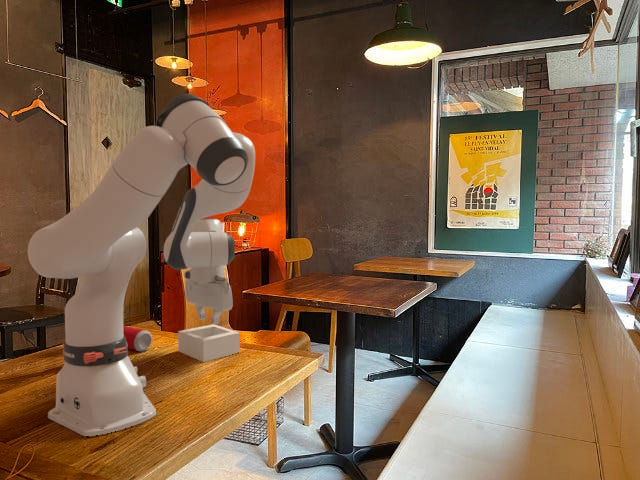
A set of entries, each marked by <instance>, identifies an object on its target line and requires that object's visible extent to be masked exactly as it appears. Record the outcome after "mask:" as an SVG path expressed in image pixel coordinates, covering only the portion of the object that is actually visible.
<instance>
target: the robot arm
mask: <svg viewBox="0 0 640 480" xmlns="http://www.w3.org/2000/svg"><path fill="white" fill-rule="evenodd" d="M187 165H190V166H191V168H193V169H194V171H195V172H197V175H198V176H199V177H200V178H201V180H200V181H199V182H198V183H197V184H196V185H194V187H192V188H190V189H188V190H187V191H186V193H185V194H184V197H183V199H182V201H181V204H180V206H179V209H178V211H177V213H176V217H175V219H174V222H173V225H172V226H171V227H172V228H171V230H170V232H169V233H168V235H167V236H166V239H165V242H164V244H163V257H164V261H165V264H167V265H168V266H169V267H170V268H172V269H174V270H176V271H180V270H186V271H184V272H183V277H184V279H185V281H184V293H185V299H186V301H187V302H188V303H191V304H195V309H196V311H197V314H198V318H197V319H198V320H201V321H205V320H206V319H207V313H206V312H205V308H208V309H212V313H213V316H212V317H211V318H210V319H211V324H215V325H219V324H220V318H221V315H222V313H223V312H226V311H231V310H232V308H233V306H234V305H233V303H234V302H233V293H232V287H231V285H230V282H229V281H228V280H227V277H224V272H225V271H224V266H228V265H229V264H230V263H231V262H232V261H233V260H234V259H235V257H236V253H235V251H236V249H235V248H236V247H235V246H236V245H235V239H234V237H232V235H230V234H229V233H228V232H225V231H224V230H223V227H222V222H221V220H219V219H217V218H208V217H211V216H217V215H221V214H226V213H229V212H233V211H234V210H237V209H239V208H240V207H241V206H242V205H243V204H244V203H245V202H246V200H247V198H248V197H249V194H250V191H251V188H252V184H253V179H254V175H255V167H256V148H255V145H254V144H253V141H252V140H251V139H250V138H249V137H247V136H246V135H244V134H242V133H239V132H235V131H234V132H233V131H232V130H231V129H230V127H229V126H228V125H227V123H226V121H225V120H224V119H223V118H222V117H221V115H219V114H218V113H217V111H215V110H214V109H213V108H211V107H210V105H209V104H208V102H206V101H205V100H204V99H202V98H201V97H199V96H197V95H195V94H192V93H182V94H180V95H177V96H175V97H174V98H172V99H171V100H170V101H168V102H167V104H166V105H165V106H163V108H162V110H161V111H160V113H159V114H158V116H157V117H156V121H155V125H148V126H144V128H143V127H142V128H141V129H140V130H139V131H138V132H137V133H136V134H135V135H134V136H133V137H132V138H131V139H130V140H129V141H128V142H127V143H126V145H125V146H124V147H123V148H122V150H121V151H120V152H119V154H118V155H117V156H116V158H115V160H114V161H112V164H111V166H110V167H109V168H108V170H107V172H106V173H105V175H104V176H103V178H102V179H101V180H100V182H99V183H98V185H97V186H96V188H95V189H94V190H93V191H92V193H91V194H90V195H88V197H86V198H85V199H84V200H83V201H82V202H81V203H79V204H78V205H77V206H76V207H75V208H73V209H72V210H71V211H69V212H68V213H67V214H66V215H65V216H63V217H62V218H59V219H58V220H56V221H55V222H53V223H51V224H48V225H47V226H45V227H42V228H40V229H38V230H37V231H35V232H34V233H33V235H32V237H30V240H29V241H28V245H27V246H28V247H27V258H28V261H29V263H30V265H31V268H32V269H33V270H34V271H35V272H36V273H37V274H38V275H40V276H41V277H44V278H48V279H49V278H50V279H51V278H52V279H62V280H68V279H69V280H71V279H72V280H73V279H77V278H82V277H83V279H82V282H81V284H80V286H79V289H78V290H77V292H76V293H75V294H74V295H72V297H70V298H69V299H68V300H67V303H66V305H65V307H64V311H65V319H64V324H65V325H64V326H65V328H64V330H65V342H64V343H63V349H62V353H63V360H64V362H65V363H64V364H63V366H62V368H61V369H60V370H59V371H58V373H57V374H56V380H55V381H56V383H55V384H56V385H55V386H56V387H55V407H53V408H52V409H50V410H49V411H48V413H47V418H48V419H49V420H51V421H52V422H55V423H57V424H58V425H61V426H63V427H65V428H67V429H69V430H70V431H73V432H74V433H77V434H79V435H81V436H83V437H86V436H89V437H97V436H96V435H98V436H103V435H106V434H107V433H108V434H111V432H112V433H115V431H116V432H119V431H123V430H125V428H126V429H128V428H131V426H132V427H134V426H137V425H140V424H142V423H144V422H146V421H149V420H150V419H151V418H152V419H153V417H155V416H156V415H157V409H156V408H155V406H154V404H152V402H151V401H150V400H149V398H148V397H147V395H146V394H145V392H144V388H145V387H146V386H147V378H146V376H145V375H141V376H139V375H138V366H134V365H133V363H132V362H131V359H130V357H129V356H128V355H129V349H128V348H127V347H128V345H127V342H126V337H125V336H124V334H123V326H124V305H125V304H124V303H125V296H126V292H127V289H128V285H129V283H130V280H131V277H132V275H133V273H134V270H135V269H136V268H137V266H138V265H139V264H140V263H141V262H142V260H143V259H144V258H145V256H146V252H147V248H148V247H147V240H146V236H145V234H144V232H143V231H142V230H141V229H140V228H139V227H140V226H141V225H143V224H144V223H145V222H146V221H148V218H149V217H150V216H151V214H152V213H153V211H154V210H155V209H156V207H157V206H158V204H159V203H160V201H161V200H162V198H163V197H164V196H165V194H166V193H167V191H168V190H169V188H170V186H171V185H172V184H173V182H174V180H175V178H176V176H177V175H178V172H179V171H181V169H182V168H184V167H185V166H187ZM187 269H188V270H187ZM102 434H103V435H102ZM108 434H107V435H108Z"/></svg>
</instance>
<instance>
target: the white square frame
mask: <svg viewBox="0 0 640 480" xmlns="http://www.w3.org/2000/svg"><path fill="white" fill-rule="evenodd" d="M177 332H178V333H177V337H178V338H177V339H178V341H177V342H178V343H177V344H178V347H177V348H178V352H179V353H182V354H184V355H186V356H188V357H191V358H193V359H196V360H197V361H199V362H202V363H207V362H211V361H215V360H218V359H222V358H226V357H230V356H233V355H232V354H234V355H236V354H235V353H238V352H240V353H241V341H240V340H241V335H240V334H241V333H240V332H239V331H235V330H233V329H230V328H226V327H223V326H221V325H219V324H213V323H211V324H208V325H203V326H198V327H192V328H188V329H183V330H178V331H177ZM238 354H239V353H238ZM229 355H230V356H229ZM225 356H226V357H225ZM221 357H222V358H221ZM214 359H215V360H214Z"/></svg>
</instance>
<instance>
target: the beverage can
mask: <svg viewBox="0 0 640 480" xmlns="http://www.w3.org/2000/svg"><path fill="white" fill-rule="evenodd" d="M123 334H124V336H125V337H126V342H127V345H128V347H127V348H128V350H132V351H136V352H141V353H142V352H143V353H144V352H145V351H147V350H149V348H150V347H151V344H152V342H153V336H152V333H151V332H150V331H149V330H145V329H139V328H135V327H131V326H126V325H123Z"/></svg>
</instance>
